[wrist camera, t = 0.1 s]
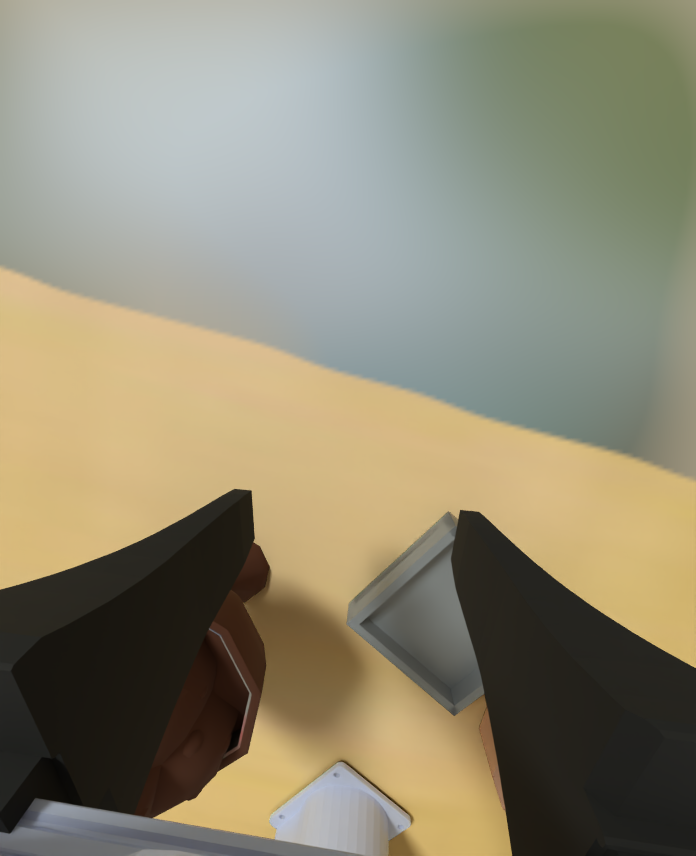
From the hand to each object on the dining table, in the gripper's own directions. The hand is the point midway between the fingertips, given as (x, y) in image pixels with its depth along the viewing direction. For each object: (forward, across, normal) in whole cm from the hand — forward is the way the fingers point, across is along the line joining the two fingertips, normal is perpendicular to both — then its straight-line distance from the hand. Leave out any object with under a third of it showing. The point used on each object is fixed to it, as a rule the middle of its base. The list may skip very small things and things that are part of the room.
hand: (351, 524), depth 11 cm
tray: (+9, -7, +12) cm, 17 cm away
